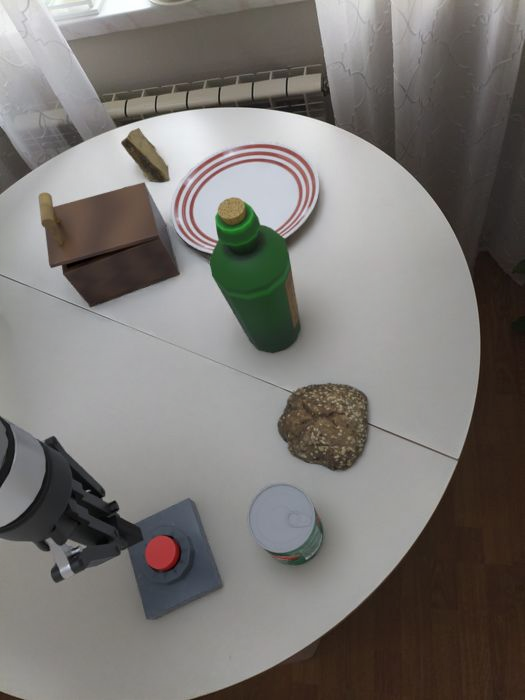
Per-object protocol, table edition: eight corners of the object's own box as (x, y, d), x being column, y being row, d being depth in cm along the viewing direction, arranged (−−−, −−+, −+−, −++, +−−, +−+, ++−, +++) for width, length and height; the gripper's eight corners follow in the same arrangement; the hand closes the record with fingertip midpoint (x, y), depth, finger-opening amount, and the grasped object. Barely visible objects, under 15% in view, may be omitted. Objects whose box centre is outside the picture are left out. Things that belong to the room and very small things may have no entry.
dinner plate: (147, 216, 106) (141, 204, 103) (252, 133, 111) (248, 119, 108) (239, 293, 93) (235, 281, 90) (353, 194, 98) (351, 181, 96)
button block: (128, 532, 77) (116, 526, 74) (194, 501, 77) (185, 494, 74) (152, 620, 71) (140, 618, 67) (223, 586, 71) (215, 582, 68)
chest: (91, 307, 98) (62, 274, 89) (82, 254, 104) (55, 219, 96) (179, 274, 97) (159, 238, 89) (165, 224, 104) (146, 185, 96)
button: (146, 546, 72) (141, 543, 70) (174, 532, 72) (169, 530, 71) (155, 576, 70) (150, 574, 68) (183, 562, 70) (179, 560, 69)
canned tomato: (259, 561, 72) (240, 546, 62) (270, 500, 75) (253, 478, 66) (320, 571, 70) (309, 558, 60) (328, 508, 73) (319, 486, 64)
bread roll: (376, 394, 80) (376, 379, 75) (358, 476, 74) (357, 465, 70) (291, 378, 83) (286, 363, 79) (269, 456, 78) (262, 444, 74)
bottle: (320, 317, 88) (294, 189, 64) (283, 370, 84) (241, 257, 60) (265, 292, 92) (221, 164, 68) (228, 342, 89) (169, 225, 65)
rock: (129, 138, 115) (111, 168, 109) (140, 106, 108) (122, 136, 102) (176, 164, 117) (162, 195, 112) (190, 135, 111) (175, 166, 105)
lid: (51, 268, 88) (32, 239, 82) (44, 213, 94) (26, 182, 88) (159, 238, 89) (148, 207, 83) (145, 185, 95) (134, 153, 90)
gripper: (-52, 428, 44) (87, 500, 65) (-36, 589, 38) (114, 613, 58) (34, 388, 45) (145, 472, 65) (65, 541, 38) (179, 582, 58)
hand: (130, 539), depth 61 cm, fingers closed
